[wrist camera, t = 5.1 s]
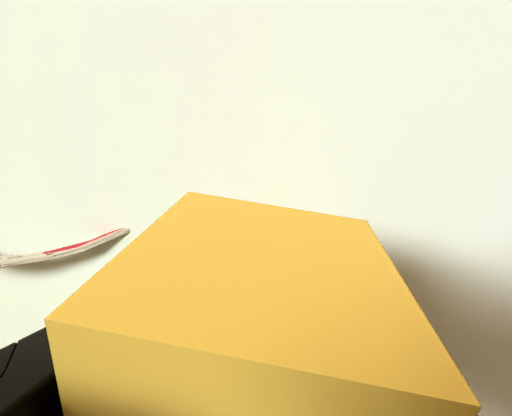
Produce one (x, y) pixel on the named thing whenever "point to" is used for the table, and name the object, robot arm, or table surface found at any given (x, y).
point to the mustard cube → (251, 323)
